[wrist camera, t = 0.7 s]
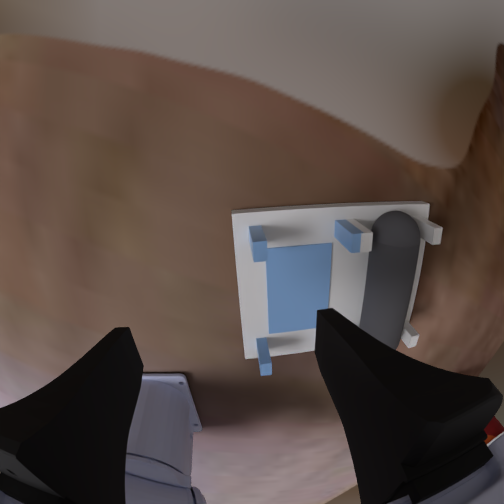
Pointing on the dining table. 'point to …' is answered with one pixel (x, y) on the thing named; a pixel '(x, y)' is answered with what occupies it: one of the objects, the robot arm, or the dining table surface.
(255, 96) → the dining table surface
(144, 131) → the dining table surface
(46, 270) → the dining table surface
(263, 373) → the board
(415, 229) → the dark grey capsule
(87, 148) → the dining table surface
